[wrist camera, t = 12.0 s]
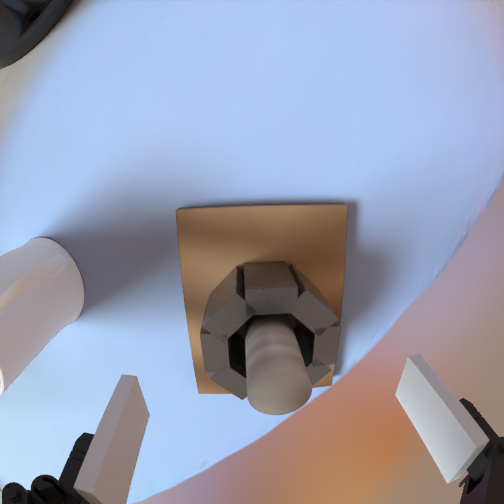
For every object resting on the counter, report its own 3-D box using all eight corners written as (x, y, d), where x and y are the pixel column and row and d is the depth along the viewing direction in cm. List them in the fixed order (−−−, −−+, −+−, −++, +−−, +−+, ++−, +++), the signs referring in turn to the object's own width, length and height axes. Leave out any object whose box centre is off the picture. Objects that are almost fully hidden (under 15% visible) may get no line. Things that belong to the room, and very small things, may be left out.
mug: (80, 200, 20) (-30, 229, 9) (129, 292, 22) (57, 382, 11) (6, 261, 21) (-77, 307, 10) (47, 335, 23) (-19, 405, 12)
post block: (179, 208, 21) (129, 238, 11) (341, 203, 21) (416, 228, 11) (199, 385, 25) (186, 473, 15) (328, 377, 25) (361, 459, 15)
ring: (204, 264, 21) (194, 291, 16) (321, 259, 21) (344, 283, 16) (214, 361, 23) (209, 402, 18) (315, 355, 23) (330, 394, 18)
